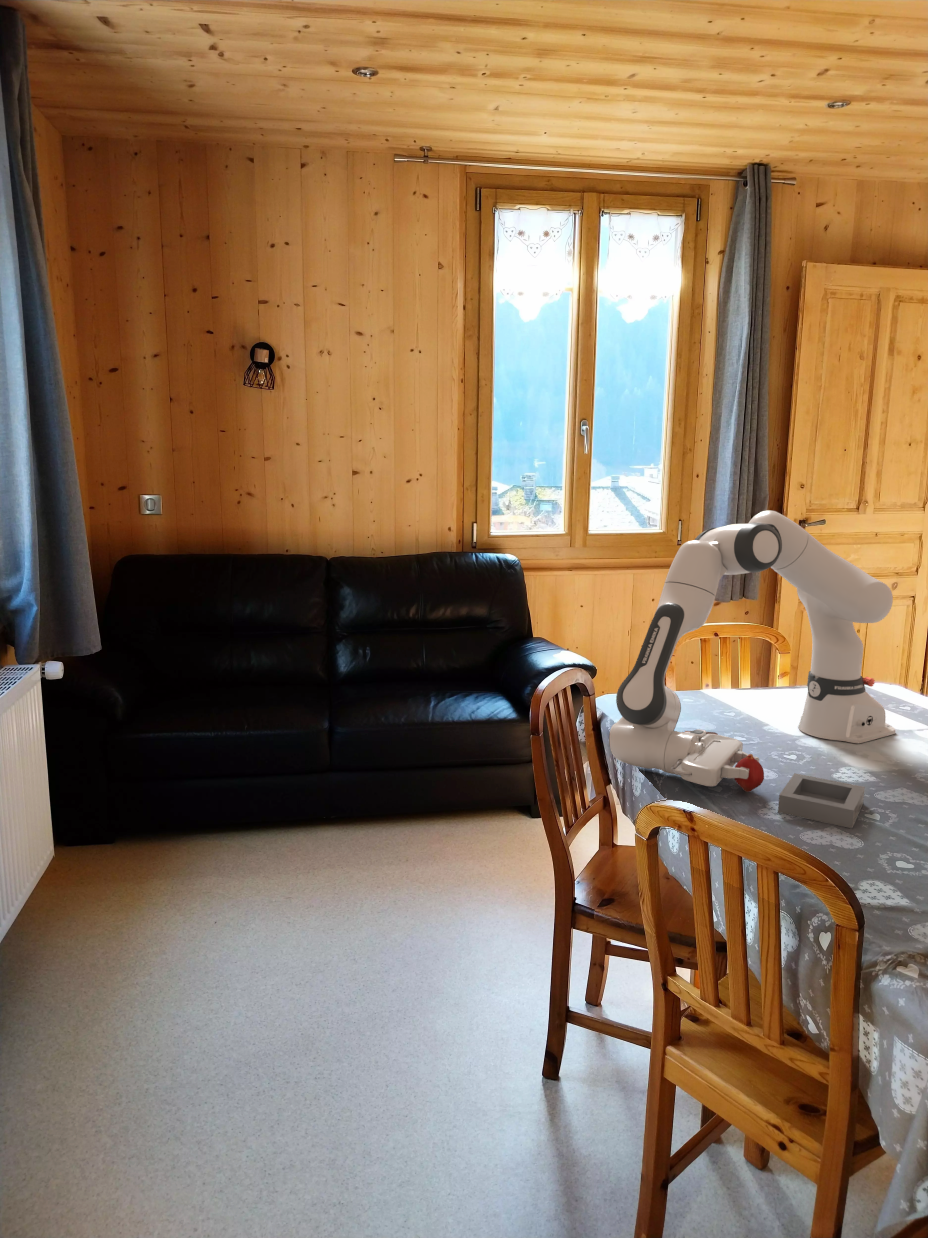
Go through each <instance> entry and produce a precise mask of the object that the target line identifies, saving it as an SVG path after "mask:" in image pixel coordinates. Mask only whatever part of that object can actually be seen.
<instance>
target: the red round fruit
mask: <svg viewBox="0 0 928 1238" xmlns="http://www.w3.org/2000/svg"><path fill="white" fill-rule="evenodd" d="M748 754H749V755H748V756H747V757H745V758H743V759H741V760H740V761H739V762H738V763H736V764H735V765H734V767H735V768H740V767H745V768H749V769H750V776H749V777H748V778H747V779H743V778H733V779H734V782H736V784H737V785H738V786H739V787H740V788H741V789H742V790H743V791H744V792H746V793H750V792H752V791H754V790H755V789H757V788H758V787H760V786H761V785H762V784H763V782H764V780H765V771H764V768H763V765H762V764H761V762H760V761H759V762H758V761H757V760H756V759H754V757H753V756H754V755H753V753H748Z"/></svg>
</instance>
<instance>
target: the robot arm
mask: <svg viewBox="0 0 928 1238" xmlns="http://www.w3.org/2000/svg"><path fill="white" fill-rule="evenodd" d="M769 568H771V569H772V570H773V571H774V572H775V573H777V574H778V575H780V576H781V577H782V578H784V579H785V580H786V581H787V582H788V583H789V584H790V585H792V586H793V587H794V588H796V593H797V596H798V599H799V600H800V603H802V605H803V607H804V608H805V611H806V613H807V617H808V622H809V626H810V630H811V631H810V632H811V641H812V642H811V644H812V649H811V659H810V660H811V661H810V670H809V671H808V675H807V682H806V683H807V684H806V686H807V694H806V697H805V702H804V707H803V712H802V715H801V716H800V720H799V724H798V726H797V727H798V729H799V730H800V731H801V732H803V733H804V734H807V735H810V736H812V737H816V738H820V739H825V740H831V741H840V742H841V741H843V742H848V743H851V744H863V743H867V742H869V741H873V740H876V739H878V740H879V739H880V738H884V737H887V736H888V737H889V736H891V735H895V734H896V728H895V727H893V726H892V725H890V724H889V723H887V722H886V721H887V719H886V717H887V716H886V710H885V708H884V706H883V705H882V704H881V703H880V702H879V701H877V700H876V699H875V698H874V697H873V696H871V694H870V693H868V692H867V691H866V686H867V687H870V688H872V687H874V685H875V683H876V680H875V678H873V677H869V676H865V677H864V676H862V667H863V666H862V665H863V657H864V655H863V654H864V643H863V642H862V640H861V637H859V635H858V633H857V631H856V629H855V625H854V623H856V624H875V623H878V622H881V621H882V620H884V619H885V618H886V617H887V616H888V614H889V613H890V611H891V609H892V606H893V602H894V600H893V593H892V590H891V588H890V586H888V584H886V583H885V582H883V581H881V580H879V579H878V578H876V577H873V576H872V575H870V574H869V573H867V572H866V571H864V570H863V569H862V568H860V567H858V566H856V565H855V564H853V563H851V562H850V561H848V560H846V559H845V558H843V557H842V556H840V555H838V554H836V553H835V552H833V551H832V550H831V549H828V548H827V547H826V546H825V545H823V544H822V542H820V541H819V540H818V539H816V538H815V537H814V536H813V535H812V534H810V533H809V532H808V531H807V530H806V529H804V528H803V527H802V526H801V525H799V524H798V523H796V522H795V521H793V520H792V519H790V518H789V517H787V516H785V515H784V514H781V513H780V512H778V511H776V510H769V509H767V510H762V511H760V512H759V513H757V514H755V515H753V517H752V518H751V519H750V520H749V522H748V523H733V524H727V525H725V526H724V525H723V526H719V527H711V528H709V529H706V530H704V531H703V532H700V533H699V534H698V535H697V536H696V537H695V538H694V540H688V541H686V542H683V544H681V546H680V547H679V548H678V550H677V552H676V554H675V556H674V558H673V560H672V562H671V565H670V567H669V570H668V572H667V575H666V578H665V581H664V584H663V587H662V590H661V594H660V597H659V601H658V604H657V606H656V611H655V612H654V615H653V618H652V620H651V621H650V625H649V627H648V629H647V632H646V635H645V637H644V640H643V642H642V645H641V648H640V650H639V653H638V655H637V659H636V661H635V664H634V666H633V667H632V670H631V671H630V672H629V674H628V675H627V676H626V677H625V679H624V680H623V681H622V683H621V684H620V685H619V687H618V689H617V692H616V695H615V696H616V697H615V698H616V699H615V701H616V702H615V704H616V708H617V710H618V712H619V715H620V716H621V718H620V719H619V720H618V721H617V722H615V723H614V724H612V725H611V727H610V731H609V735H608V747H609V749H610V753H611V754H612V755H613V757H614V758H615V759H616V760H618V761H620V762H622V763H624V764H627V765H630V766H633V767H638V768H643V769H648V770H651V769H656V770H660V771H662V772H664V773H666V774H670V775H675V776H680V777H681V779H683V780H684V781H686V782H687V781H688V782H690V783H693V784H698V785H701V786H706V787H716V786H717V785H718V784H719V783H720V782H721V781H722V780H723V778H725V779H734V778H743V779H747V778H748V777H749V776H750V769H749V768H745V767H740V768H735V766H736V764H737V763H738V762H739V761H740V760H741V759H743V758H745V757H747V756H748V755H749V754H750V753H746V751H743V749H744V747H743V746H744V743H743V741H741V740H740V739H736V738H734V737H730V736H725V735H721V734H718V735H716V734H706V732H707V731H706V730H704V729H700V728H699V729H695V730H694V729H693V730H689V731H690V732H683V731H676V730H675V729H676V727H677V723H678V722H679V718H680V716H681V711H682V705H681V699H680V698H679V696H678V695H677V693H676V692H675V691H674V690H672V689H671V688H669V687H668V686H667V685H666V684H665V678H666V674H667V671H668V669H669V665H670V663H671V660H672V658H673V654H674V651H675V649H676V646H677V644H678V642H679V641H680V639H681V638H682V637H683V636H684V635H686V634H688V633H690V632H694V631H696V630H699V629H700V628H701V627H703V626H704V625H705V623H706V621H707V620H708V618H709V617H710V616H709V615H710V614H711V611H712V609H713V606H714V603H715V600H716V595H717V592H718V589H719V588H718V587H719V584H720V580H721V578H722V577H723V576H724V575H728V576H735V575H743V574H749V573H760V572H764V571H766V570H768V569H769ZM865 685H866V686H865ZM753 757H754V759H756V760H757V761H758V762H759V763H760V758H759V757H758V756H754V755H753Z"/></svg>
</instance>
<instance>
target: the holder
mask: <svg viewBox="0 0 928 1238" xmlns="http://www.w3.org/2000/svg"><path fill="white" fill-rule="evenodd" d="M865 791H866V786H863V785H857V784H852V783H846V782H841V781H837V780H831V779H825V778H821V777H816V776H811V775H807V774H802V773H801V774H800V773H795V772H794V774H793V775H792V776H791V777H790V779H789V780H788V782H786V785H785V786H784V788H783V789H782V790H781V792H780V793H779V795H778V805H777V813H779V814H784V815H789V816H793V817H797V818H802V819H808V820H811V821H815V822H821V823H825V824H830V825H834V826H839V827H843V828H847V829H853V827H854V825H855V823H856V821H857V818H858V817H859V814H860V812H861V810H862V808H863V805H864V800H865V799H864V798H865Z"/></svg>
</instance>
